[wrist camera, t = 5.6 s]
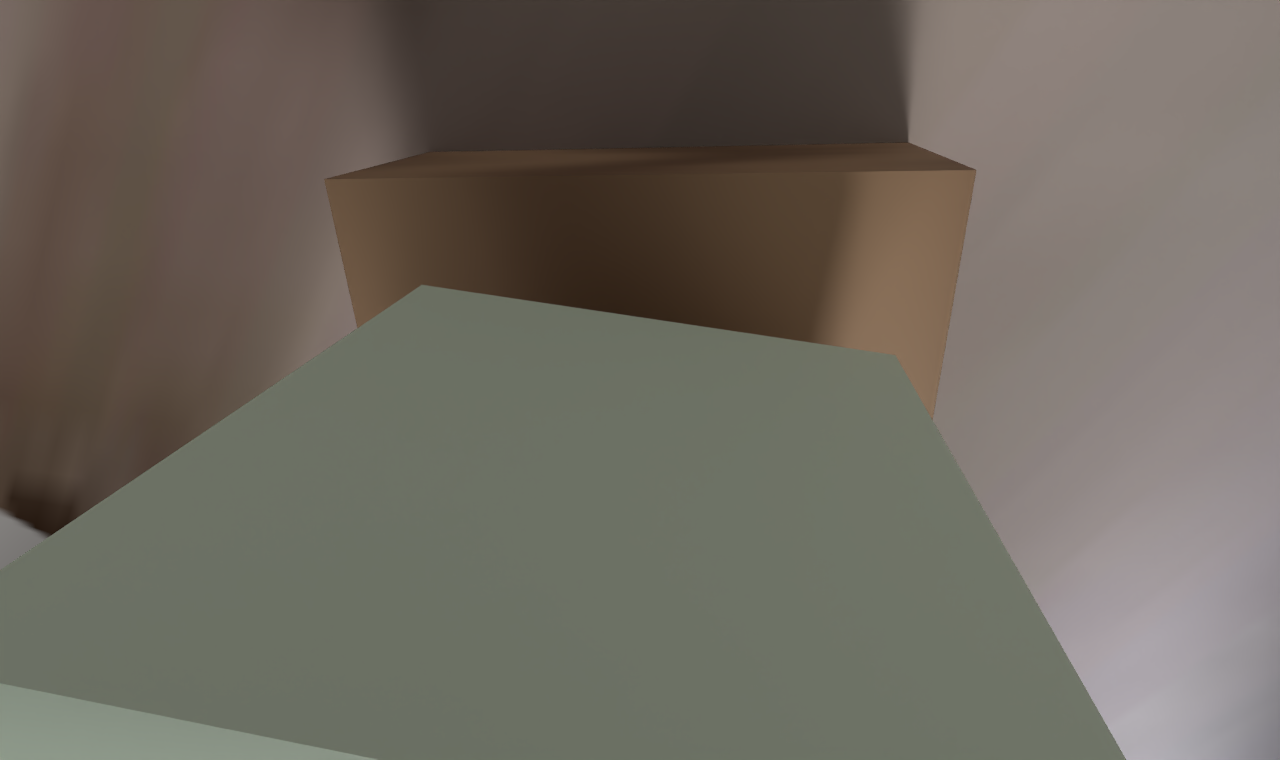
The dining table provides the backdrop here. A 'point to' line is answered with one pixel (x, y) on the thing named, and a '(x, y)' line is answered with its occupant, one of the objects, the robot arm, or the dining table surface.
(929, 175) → the brown flat block
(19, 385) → the dining table surface
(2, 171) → the dining table surface
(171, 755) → the sage cube
